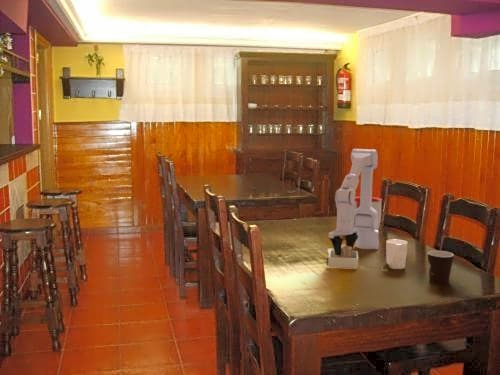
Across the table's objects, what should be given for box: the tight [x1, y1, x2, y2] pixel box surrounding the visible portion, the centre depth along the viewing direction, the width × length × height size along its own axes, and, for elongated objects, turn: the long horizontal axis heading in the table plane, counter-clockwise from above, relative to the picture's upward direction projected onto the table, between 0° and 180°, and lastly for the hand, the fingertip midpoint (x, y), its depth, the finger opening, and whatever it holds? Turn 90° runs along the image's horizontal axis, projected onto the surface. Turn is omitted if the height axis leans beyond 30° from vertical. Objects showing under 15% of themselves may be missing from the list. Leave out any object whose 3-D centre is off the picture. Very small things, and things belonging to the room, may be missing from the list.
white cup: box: [385, 238, 409, 270], centre depth 205 cm, size 8×8×10 cm
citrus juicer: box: [352, 195, 383, 231], centre depth 260 cm, size 16×17×20 cm
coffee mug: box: [427, 250, 455, 285], centre depth 189 cm, size 12×9×10 cm
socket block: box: [335, 244, 353, 258], centre depth 208 cm, size 5×5×6 cm
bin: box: [327, 250, 359, 270], centre depth 209 cm, size 11×11×4 cm
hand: (343, 253), depth 208 cm, fingers open, 6 cm apart
